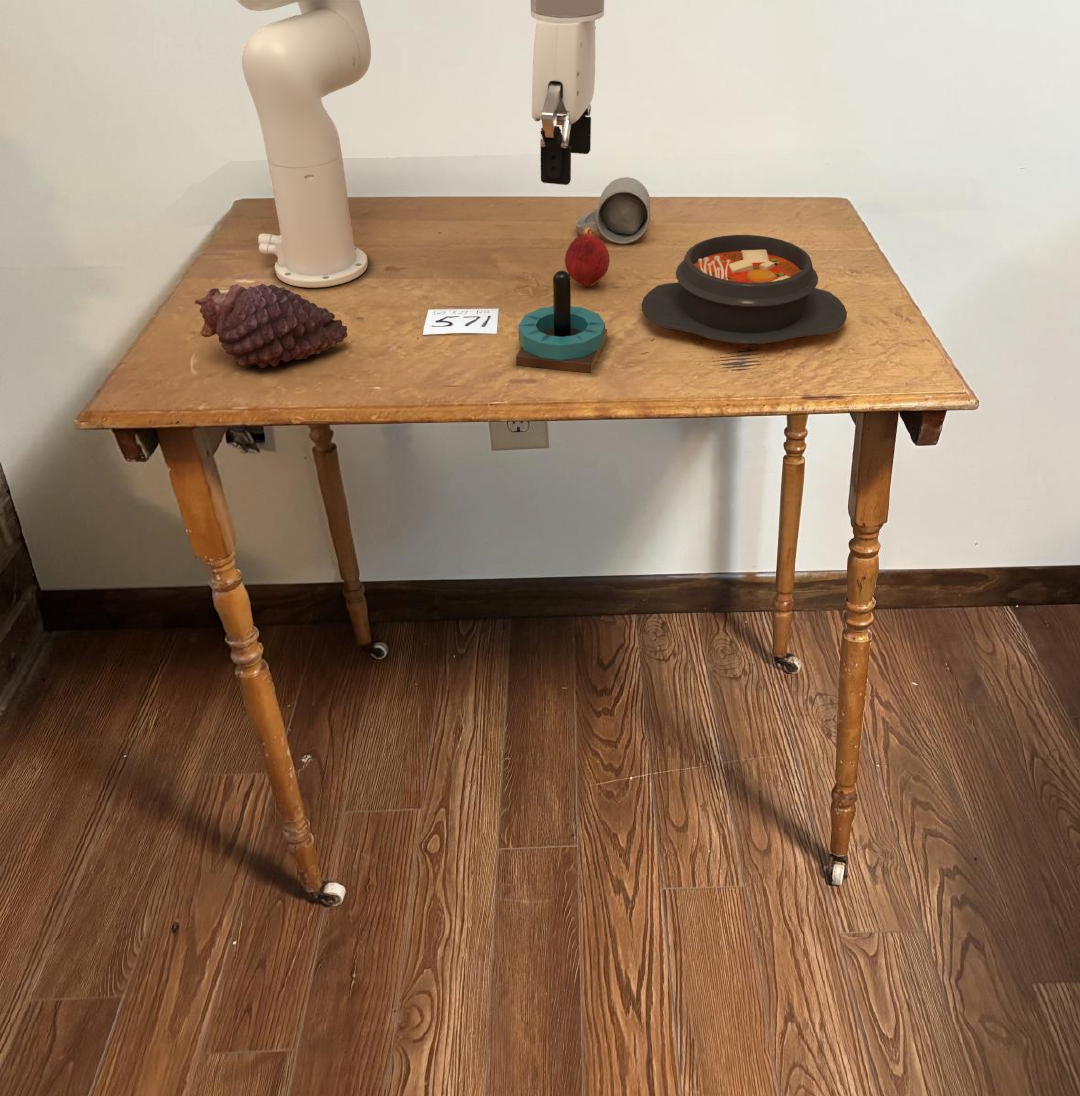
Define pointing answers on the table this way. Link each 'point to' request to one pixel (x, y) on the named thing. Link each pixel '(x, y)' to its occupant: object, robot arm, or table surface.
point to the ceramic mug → (620, 212)
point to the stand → (561, 332)
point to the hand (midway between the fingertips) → (566, 167)
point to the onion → (587, 259)
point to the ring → (561, 346)
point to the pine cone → (268, 324)
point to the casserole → (745, 293)
